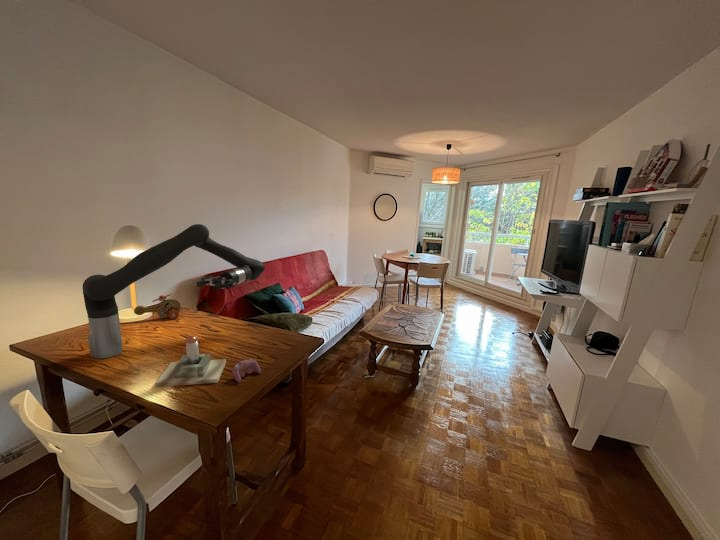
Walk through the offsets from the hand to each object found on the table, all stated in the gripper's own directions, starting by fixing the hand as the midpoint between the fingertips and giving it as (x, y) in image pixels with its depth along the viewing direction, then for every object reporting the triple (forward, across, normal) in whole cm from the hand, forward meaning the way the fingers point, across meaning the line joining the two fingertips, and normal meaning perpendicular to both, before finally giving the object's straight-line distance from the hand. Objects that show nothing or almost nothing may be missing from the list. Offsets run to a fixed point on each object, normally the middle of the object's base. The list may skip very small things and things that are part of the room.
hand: (205, 286), depth 119 cm
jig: (+17, +9, +29) cm, 35 cm away
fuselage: (+17, +9, +27) cm, 33 cm away
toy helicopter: (-17, -49, +32) cm, 61 cm away
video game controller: (+10, +28, +29) cm, 42 cm away
